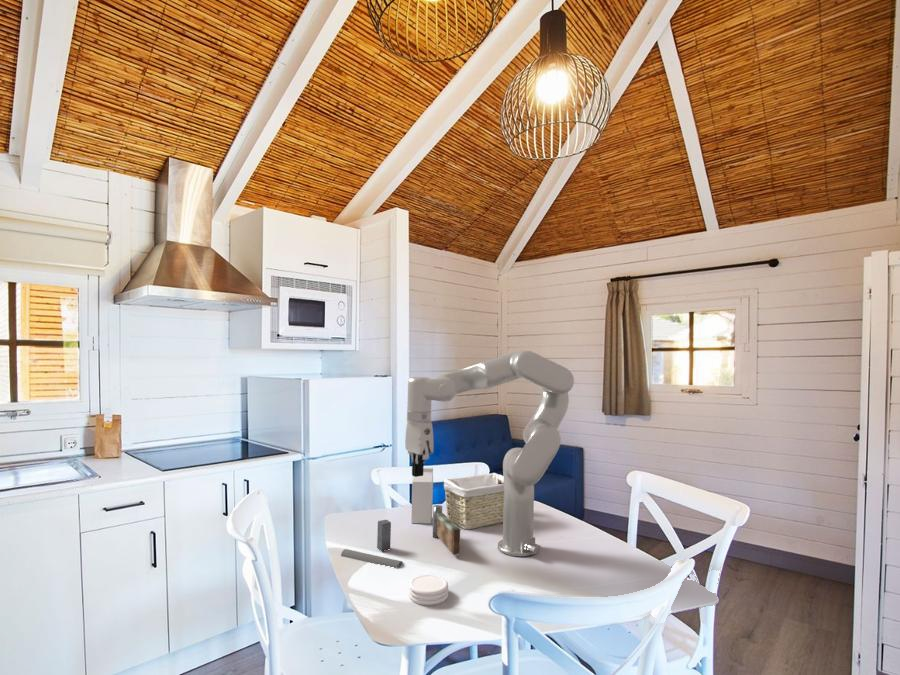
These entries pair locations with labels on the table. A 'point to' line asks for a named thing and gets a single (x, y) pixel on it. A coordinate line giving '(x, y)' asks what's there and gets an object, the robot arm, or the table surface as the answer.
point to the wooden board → (448, 533)
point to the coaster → (428, 590)
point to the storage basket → (475, 500)
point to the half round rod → (370, 558)
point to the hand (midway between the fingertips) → (417, 475)
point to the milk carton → (422, 497)
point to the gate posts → (385, 530)
